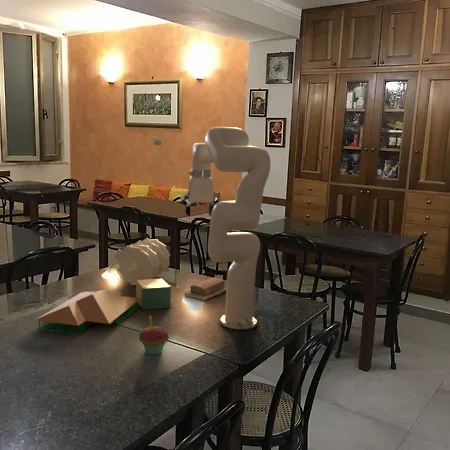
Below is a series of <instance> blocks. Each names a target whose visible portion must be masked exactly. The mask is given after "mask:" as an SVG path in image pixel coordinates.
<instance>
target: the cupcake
mask: <svg viewBox="0 0 450 450" xmlns="http://www.w3.org/2000/svg"><path fill="white" fill-rule="evenodd" d="M148 319H149V326H148V327H145V328H144V329H142V330H141V331H140V333H139V334H138V336H139V337H138V340H139V342H140V343H141V344H142V345H143V347H144V351H145V353H146V354H148V355H153V356H154V355H159V354H161V353H162V352H163V349H164V346H165V344H166V343H168V342H169V339H170V337H169V333H168V331H167V330H166V329H164V328H163V327H161V326H156V325H155V326H153V319H152V315H149V316H148Z"/></svg>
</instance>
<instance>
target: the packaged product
mask: <svg viewBox="0 0 450 450" xmlns="http://www.w3.org/2000/svg"><path fill="white" fill-rule="evenodd" d="M226 287H227V286H226ZM226 287H225V280H224V279H222V278H218V277H213V276H212V277H210V278H207V279H204V280H201V281H200V282H197V283H194V284H192V285H191V286H190V289H189V290H187V291H184V292H183V294H184V296H185V297H188V298H194V299H199V300H202V301H207V300H208V299H210V298H213V297H216V296H218V295H219V296H220V295H221V294H222V293H224V292H226Z"/></svg>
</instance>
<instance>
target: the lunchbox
mask: <svg viewBox="0 0 450 450" xmlns="http://www.w3.org/2000/svg"><path fill="white" fill-rule="evenodd" d="M171 293H172V287H171V284H169V283H167V282H166V281H165V280H164V279H163V277H162V278H161V277H160V278H155V279H153V278H152V279H146V280H136V285H135V297H136V298H137V299H140V300H138V301H137V305H138V306H140V308H141V310H142V311H146V310H147V311H148V310H158V309H168V308H171V296H172V295H171Z"/></svg>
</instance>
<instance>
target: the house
mask: <svg viewBox="0 0 450 450" xmlns="http://www.w3.org/2000/svg"><path fill="white" fill-rule="evenodd" d="M131 297H132V296H124V295H123V292H120V291H113V290H107V289H98V290H97V291H81V292H79V293H78V294H76V295H74V296H73V297H71V298H69V299H68V300H66V301H64V302H63V303H61V304H59V305H57V306H55V307H54V308H53V309H50V310H49V311H47V312H46V313H44V314H42V315H41V316H39V317H37V318H35V321H38V329H39V330H43V331H44V330H45V331H50V332H58V333H65V334H70V331H69V330H70V326H71V327H72V330H74V329H75V330H74V332H71V334H72V335H79V334H80V333H81V332H83V331H84V330H86V329H87V328H88V327H90V326H91V325H92V324H94V325H97V324H100V325H103V326H104V325H108V326H109V327H112V323H114V322H115V321H116V320H119V321H118V324H120V323H121V322H122V321H123V319H121V317H124V319H126V318H127V317H128V316H129V314H128V311H130V313H133V312H135V310H136V309H137V307H138V303H137V301H138V300H140V299H137V298H131ZM86 322H87V325H86ZM49 324H50V327H53V329H48V325H49ZM52 324H53V325H52ZM66 325H67V326H66ZM45 327H46V328H45ZM61 328H62V330H61ZM66 329H67V331H68V332H67V331H66ZM79 329H80V331H79Z"/></svg>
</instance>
